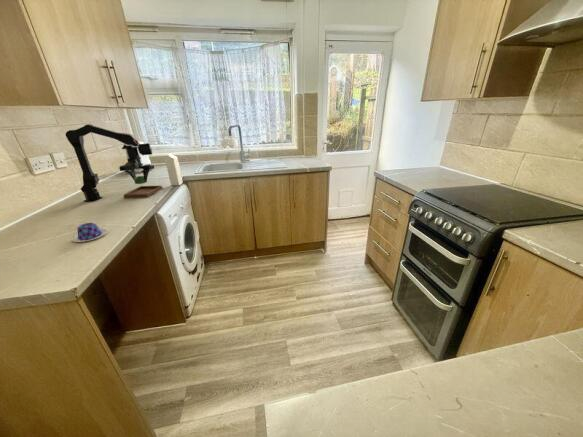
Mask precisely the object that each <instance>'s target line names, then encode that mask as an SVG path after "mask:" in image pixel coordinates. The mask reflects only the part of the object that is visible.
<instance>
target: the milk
mask: <svg viewBox="0 0 583 437" xmlns="http://www.w3.org/2000/svg"><path fill="white" fill-rule="evenodd" d="M164 161H165V165H166V166H165V167H166V169H167V175H168V179H169V183H170V186H171V187H172V186H181V185H182V184H183V183H184V182H183V178H182V177H183V176H182V172H181V168H180V163H179V158H178V156H176V155H174V154H173V152H169V153H168V154H167V156H166V157H165V158H164Z"/></svg>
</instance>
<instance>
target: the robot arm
mask: <svg viewBox="0 0 583 437" xmlns="http://www.w3.org/2000/svg"><path fill="white" fill-rule="evenodd" d="M88 134H96V135H99V136H101V137H102V136H103V137H106V138H110V139H113V140H116V141H118V142H120V143H121V144H123V145H122V147H121V150H125V149H126V151H127V154H128V157H129V158H128V159H127V158H126V159H127V162H126V163H125V164H122V165H119V168H118V169H119V171H120V172H124V173H127V174H128V175H129V176H130V177H131V178H132V180H133V181H134V177H137V176H136V173H135V169H143V171H141V172H142V173H141V174H142V176H144V179H145V181H147V182H148V176H149V173H150V171H152V170H154V169H155V165H154V164H153V163H151V164H146V165H143V163H141V161H140V159H141V157H139V153H140V154H142V155H148V156H151V155H153V150H152V147H151V144H150V143H149V142H146V143H144V144H140V143H139V142H138V141H139V140H137V141H136V140H135V138H136V137H135V136H134V135H133V134H131V133H126V132H125V133H124V132H117V131H113V130H110V129H106V128H103V127H101V126H96V125H94V124H90V123H89V124H86V125H83V126H81V127H79V128H77V129H69V130H67V131H66V132H65V137H66V139H67V141H68V142H69V144H70V145H71V146H72V147H73V150H74V152H75V155H76V157H77V160H78V163H79V166H80V169H81V172H82V183H83V185H82V186H81V187H80V191H81V192H82V193H83V195H84V198H85V199H84V202H95V201H98V200H100V199H102V198H103V197H102V196H101V194H100V192H99V190H98V188H97V185H98V184H99V183H100V181H101V180H100V178H99V174H98V173H94V172H93V169H92V167H91V164H90V161H89V158H88V156H87V152H86V149H85V146H84V144H85V140H84V136H86V135H88ZM125 144H127V145H130V146H126V145H125ZM132 145H133V146H138V147H133V146H132ZM137 148H138V150H137ZM126 151H125V152H126ZM138 151H139V153H138ZM142 165H143V166H142ZM149 170H150V171H149Z"/></svg>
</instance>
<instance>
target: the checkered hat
mask: <svg viewBox="0 0 583 437" xmlns="http://www.w3.org/2000/svg"><path fill="white" fill-rule="evenodd" d="M76 230H77V234H75V235H74V236H73V237H72V238H71V241H72V242H75V243H84V242H88V241H89V242H90V241H93V240H96V239H98V238H101V237H103V236H104V235H106V234H107V233H108V229H107V228H99V226H98V225H97V224H96V223H95V222H86V223H83V224H80V225H79V226H77V229H76Z"/></svg>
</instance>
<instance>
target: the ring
mask: <svg viewBox="0 0 583 437" xmlns="http://www.w3.org/2000/svg"><path fill="white" fill-rule="evenodd" d="M133 181H134V184H135V185H142V184H146V183H148V180H147V181H145V179H144V175H139V176H136V177H134V180H133Z"/></svg>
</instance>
